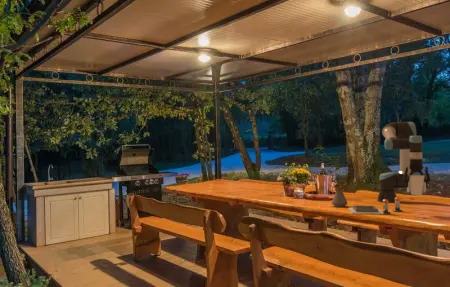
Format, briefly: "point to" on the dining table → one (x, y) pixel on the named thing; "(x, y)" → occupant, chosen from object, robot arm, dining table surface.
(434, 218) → the dining table surface
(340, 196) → the coffee pot
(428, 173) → the robot arm
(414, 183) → the foam cup
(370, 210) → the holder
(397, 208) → the pegs
